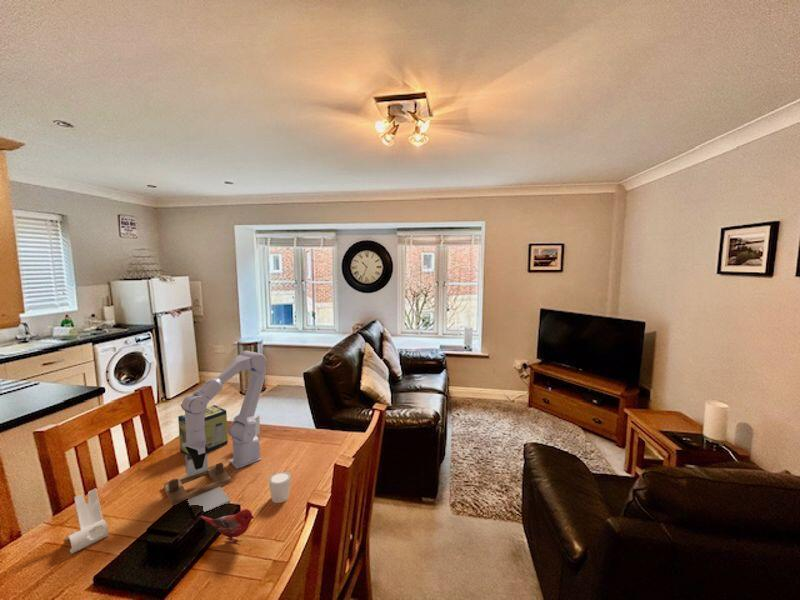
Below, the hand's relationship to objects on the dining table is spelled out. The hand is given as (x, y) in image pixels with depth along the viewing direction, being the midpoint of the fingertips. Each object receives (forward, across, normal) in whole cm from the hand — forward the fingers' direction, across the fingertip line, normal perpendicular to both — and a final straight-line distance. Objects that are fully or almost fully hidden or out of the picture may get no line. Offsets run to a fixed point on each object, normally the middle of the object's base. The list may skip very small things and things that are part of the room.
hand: (197, 465), depth 119 cm
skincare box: (+7, -16, +25) cm, 31 cm away
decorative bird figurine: (+7, +34, -1) cm, 35 cm away
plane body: (+7, 0, 0) cm, 7 cm away
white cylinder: (+7, +27, +18) cm, 33 cm away
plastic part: (+7, +5, -29) cm, 31 cm away
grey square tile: (+7, +13, 0) cm, 15 cm away
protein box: (+7, -27, +9) cm, 29 cm away
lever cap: (+2, 0, 0) cm, 2 cm away
